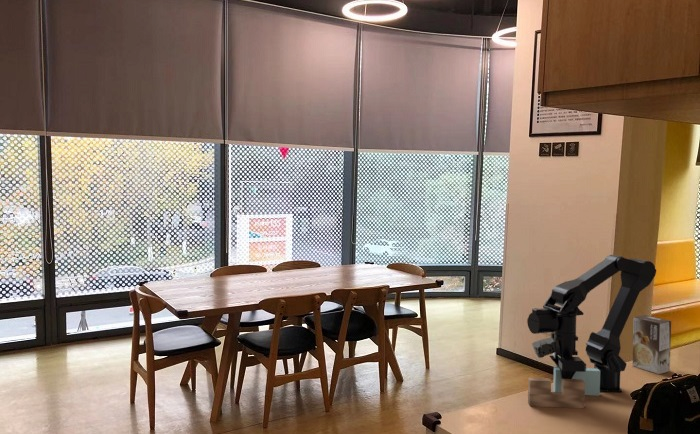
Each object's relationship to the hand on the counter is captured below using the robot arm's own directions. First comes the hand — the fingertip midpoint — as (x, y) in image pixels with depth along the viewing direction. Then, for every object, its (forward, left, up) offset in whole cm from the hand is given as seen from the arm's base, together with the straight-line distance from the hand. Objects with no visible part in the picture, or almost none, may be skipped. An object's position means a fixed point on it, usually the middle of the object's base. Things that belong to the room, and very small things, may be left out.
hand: (563, 385), depth 152 cm
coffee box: (-33, -23, -2) cm, 41 cm away
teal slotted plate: (-3, 0, -2) cm, 4 cm away
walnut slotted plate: (+5, +9, -2) cm, 10 cm away
